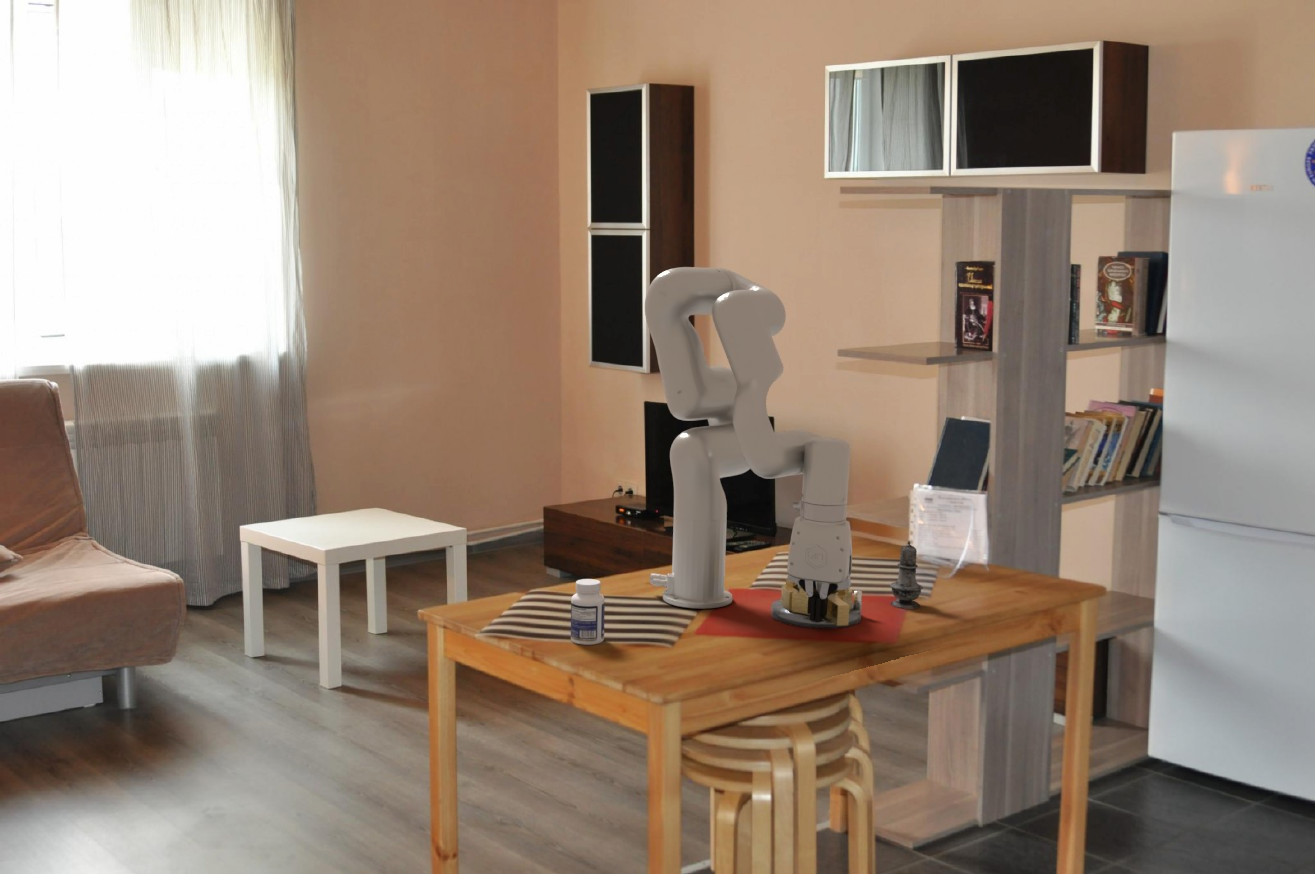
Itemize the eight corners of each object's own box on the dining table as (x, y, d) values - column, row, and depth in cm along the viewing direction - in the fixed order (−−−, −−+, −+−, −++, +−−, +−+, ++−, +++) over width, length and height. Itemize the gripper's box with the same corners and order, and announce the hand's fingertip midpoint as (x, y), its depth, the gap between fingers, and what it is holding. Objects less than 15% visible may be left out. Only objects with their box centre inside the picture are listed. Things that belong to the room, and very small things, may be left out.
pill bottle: (586, 634, 218) (587, 575, 216) (610, 640, 214) (612, 581, 213) (563, 640, 214) (564, 581, 212) (588, 647, 210) (589, 587, 209)
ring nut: (773, 598, 236) (774, 575, 236) (834, 596, 239) (835, 573, 239) (809, 626, 219) (811, 602, 218) (875, 624, 222) (876, 599, 221)
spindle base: (762, 622, 227) (764, 571, 226) (780, 600, 242) (782, 552, 241) (853, 632, 223) (856, 580, 222) (866, 609, 238) (869, 560, 236)
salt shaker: (921, 610, 238) (925, 545, 237) (888, 607, 239) (892, 542, 238) (922, 602, 244) (925, 538, 242) (889, 599, 245) (893, 536, 243)
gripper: (773, 510, 219) (767, 618, 222) (862, 521, 214) (855, 631, 217) (786, 503, 226) (780, 607, 229) (873, 513, 221) (865, 620, 224)
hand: (816, 619), depth 223 cm, fingers closed
